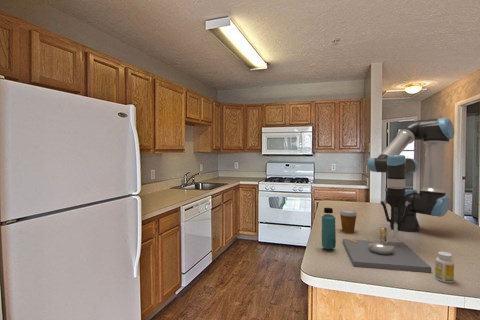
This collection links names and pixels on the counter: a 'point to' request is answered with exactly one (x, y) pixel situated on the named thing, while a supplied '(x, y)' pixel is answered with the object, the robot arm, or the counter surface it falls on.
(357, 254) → the stand
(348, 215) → the disposable coffee cup
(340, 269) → the counter surface
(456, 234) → the counter surface
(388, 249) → the metal ladle
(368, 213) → the counter surface
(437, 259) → the supplement bottle
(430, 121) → the robot arm
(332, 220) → the beverage bottle
